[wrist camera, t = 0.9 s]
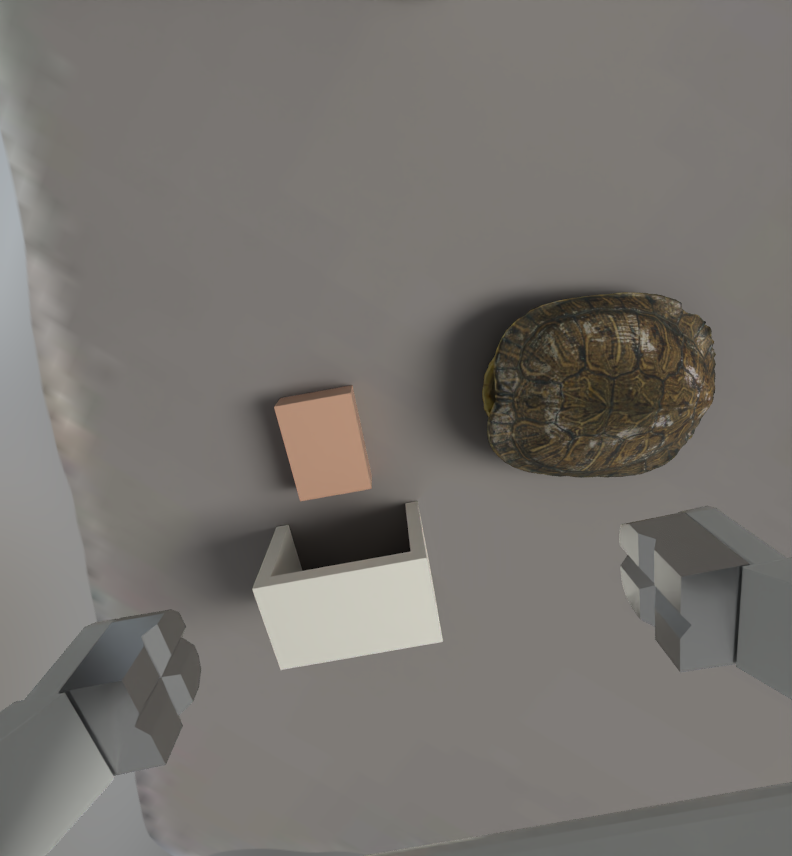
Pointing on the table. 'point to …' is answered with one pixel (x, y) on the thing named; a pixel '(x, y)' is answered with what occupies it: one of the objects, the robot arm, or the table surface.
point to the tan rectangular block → (324, 442)
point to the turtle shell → (599, 385)
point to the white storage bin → (347, 602)
